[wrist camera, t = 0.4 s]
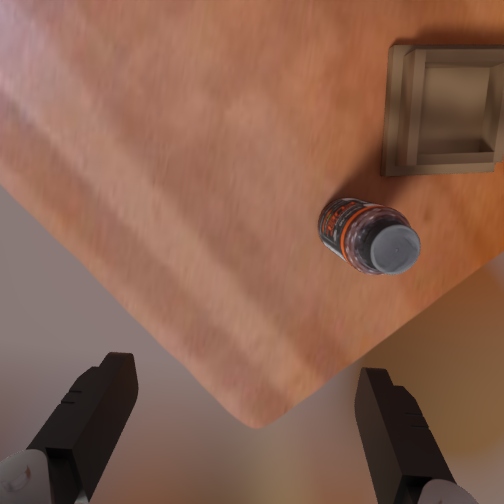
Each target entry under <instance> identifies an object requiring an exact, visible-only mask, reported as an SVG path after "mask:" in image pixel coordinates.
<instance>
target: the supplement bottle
mask: <svg viewBox="0 0 504 504" xmlns="http://www.w3.org/2000/svg"><path fill="white" fill-rule="evenodd" d="M318 234H319V237H320V239H321V240H322V242H323V243H324V244H325V245H326V246H327V247H328V248H329V249H330V250H332V251H333V252H334V253H335V254H337V255H338V256H339V257H341V258H342V259H343V260H345V261H346V262H347V263H349V264H350V265H351V266H353V267H354V268H355V269H357V270H358V271H360V272H363V273H365V274H369V275H382V274H389V275H395V274H400V273H402V272H404V271H406V270H408V269H409V268H411V266H413V264H414V263H415V262H416V261H417V258H418V256H419V253H420V240H419V237H418V235H417V233H416V232H415V231H414V230H413V229H412V228H411V226H410V224H409V222H408V220H407V219H406V218H405V217H404V216H403V215H402V214H401V213H400V212H398V211H397V210H395V209H392V208H389V207H386V206H382V205H378V204H374V203H370V202H366V201H362V200H358V199H354V198H341V199H338V200H335V201H333V202H331V203H330V204H329V205H328V206H327V207H326V208H325V209H324V210H323V211H322V213H321V215H320V217H319V221H318Z"/></svg>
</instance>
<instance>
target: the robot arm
mask: <svg viewBox="0 0 504 504" xmlns="http://www.w3.org/2000/svg"><path fill="white" fill-rule="evenodd" d="M137 396H138V380H137V374H136V368H135V362H134V356H133V354H131V353H118V352H110V353H108V354H107V355H106V357H105V358H104V360H103V361H102V363H101V364H100V366H99V367H91V368H90V369H88V370H87V371H86V372H84V373H83V374H82V375H81V376H79V377H78V378H77V380H76V381H75V382H74V384H73V385H72V387H71V388H70V390H69V392H68V393H67V394H66V395H65V396H64V398H63V399H62V400H61V404H59V405H58V406H57V407H56V409H55V410H54V412H53V413H52V414H51V416H50V417H49V418H48V420H47V421H46V423H45V424H44V425H43V427H42V428H41V430H40V431H39V432H38V434H37V435H36V436H35V438H34V439H33V441H32V442H31V443H30V445H29V446H28V447H27V448H26V450H24V451H20V452H18V453H15V454H13V455H11V456H9V457H8V458H6V459H5V460H3V461H2V462H1V463H0V504H74V503H89V502H90V499H91V497H92V495H93V493H94V491H95V488H96V487H97V484H98V482H99V480H100V478H101V476H102V474H103V471H104V469H105V467H106V465H107V463H108V461H109V459H110V456H111V454H112V452H113V450H114V448H115V446H116V444H117V442H118V439H119V437H120V435H121V433H122V431H123V429H124V427H125V425H126V422H127V420H128V418H129V416H130V414H131V412H132V409H133V407H134V405H135V403H136V400H137ZM355 417H356V421H357V425H358V429H359V433H360V436H361V440H362V443H363V448H364V452H365V456H366V459H367V463H368V467H369V471H370V474H371V478H372V482H373V486H374V490H375V494H376V497H377V501H378V504H478V502H477V501H476V500H475V499H474V498H473V497H472V496H471V495H470V494H469V493H468V492H467V491H466V490H464V489H463V488H462V487H460V486H458V485H457V483H456V482H455V480H454V478H453V476H452V474H451V472H450V470H449V468H448V466H447V464H446V462H445V460H444V457H443V456H442V453H441V451H440V449H439V447H438V445H437V443H436V441H435V439H434V437H433V435H432V433H431V431H430V430H429V428H428V427H429V426H428V424H427V422H426V420H425V418H424V417H423V416H422V412H421V410H420V408H419V406H418V404H417V402H416V400H415V398H414V397H413V396H412V395H411V394H410V393H409V392H408V391H407V390H406V389H405V388H404V387H403V386H394V385H393V383H392V381H391V379H390V376H389V374H388V372H387V370H386V369H381V368H364V367H363V368H362V369H361V372H360V377H359V382H358V387H357V392H356V397H355Z"/></svg>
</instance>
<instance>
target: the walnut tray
mask: <svg viewBox="0 0 504 504" xmlns="http://www.w3.org/2000/svg"><path fill="white" fill-rule="evenodd" d="M503 155H504V45H393V46H392V47H391V48H389V53H388V69H387V85H386V101H385V117H384V133H383V149H382V165H381V176H407V175H432V174H458V173H484V172H494V167H495V163H497V162H502V161H503Z"/></svg>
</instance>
